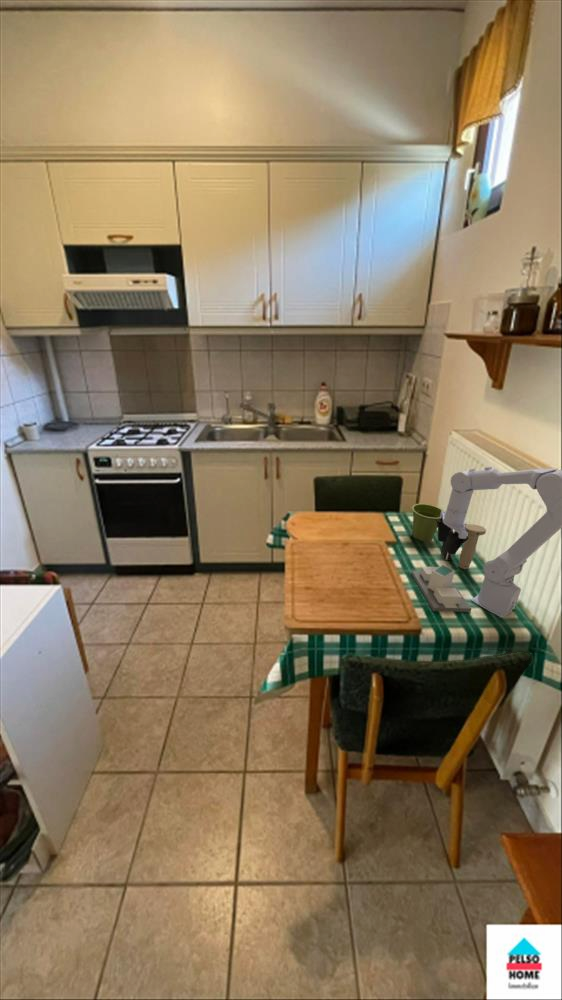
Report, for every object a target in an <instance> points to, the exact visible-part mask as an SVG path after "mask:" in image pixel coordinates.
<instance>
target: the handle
mask: <svg viewBox="0 0 562 1000" xmlns="http://www.w3.org/2000/svg"><path fill="white" fill-rule="evenodd" d="M464 526H465V530H466V532H467V536H468V540H467V541H465V542H464V543H463V545H462V548H461V551H460V555H459V559H458V560H459V561H458V567H459V568H460V569H463V570H468V569H469V568H470V566H471V563H472V561H473V559H474V557H475V554H476V553H475V552H476V549H477V545H478V540H479V537H480V536H483V535H486V532H487V529H486V528H485V527H484V526H482V525H479V524H478V525H477V524H473V523H472V524H471V523H470V524H468V523H467V525H464Z"/></svg>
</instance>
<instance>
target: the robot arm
mask: <svg viewBox="0 0 562 1000" xmlns="http://www.w3.org/2000/svg"><path fill="white" fill-rule="evenodd" d="M526 484H527V485H528V486H529V487H530V488H531V489H532V490H537V493H538V495H539V496H540V498H541V500H542V502H543V503H544V505H545V507H546V512H545V513H544V514H543V515H541V517H540V518H539V519H538V520H537V521H536V522H535V523H534V524H533V525H532V526H531V527H530V528H529V529H527V531H526V532H524V533H523V534H522V535H521V536H520V537H519V538H518V539H517V540H516V541H515V542H514V543H513V544H512V545H511V546H510V547H509V548H508V549H507V550H505V551H504V552H502V553H500V554H499V555H497V557H496V558H494V559H492V560H488V561H487V562H485V563H484V565H483V575H484V577H483V581H482V584H481V586H480V590H479V592H478V594H477V595H476V596H475V597H473V598H472V599H471V602H473V603H474V604H476V605H478V606H480V607H482V608H483V609H485V610H487V611H488V612H491V614H494V615H495V616H498V617H499V618H501V619H504V618H505V617H507V616H508V615H509V614H510V613H511V612H513V611H514V610H516V609H515V607H516V604H517V602H518V600H519V596H520V594H521V587H519V586H518V585H516V584H515V582H514V581H515V577H516V576H517V575H519V574H520V573H521V572H522V570H523V567H524V565H525V564H526V563H527V562H528V561H527V560H528V559H529V558H530V557H531V556H532V555H533V554H534V553H535V552H536V551H538V550H539V549H540V548H541V547H542V546H543V545H545V543H547V541H549V540H550V539H551V538H552V537H553V536H554V535H555V534H557V533H558V532H559V531H560V530H561V529H562V469H560V470H559V468H554V467H553V468H551V467H550V468H533V469H524V470H515V471H508V472H507V471H506V472H505V471H504V472H501V471H500V470H499V469H498V468H493V467H492V466H487V467H484V469H476V470H475V468H470V469H469V470H464V471H459V472H456V473H454V474H453V475H452V476H451V477H450V486H451V488H452V489H451V493H450V496H449V500H448V503H447V507H446V511H445V510H443V511H441V513H440V517H441V519H436V523H437V541H438V542H442V543H443V542H445V541H446V539H447V536H449V547H448V554H452V555H456V553H457V552H458V550H459V548H461V546H463V545H464V543H465V541H467V540H468V536H467V534H468V533H467V532H466V530H465V525H467V524H468V522H466V517H467V513H468V510H469V507H470V504H471V499H472V496H473V494H474V491H481V490H483V491H484V490H487V491H488V490H498V489H499V488H500V487H501V486H502V485H526ZM451 529H453V530H454V531H455V533H449V531H450V530H451ZM513 609H514V610H513ZM512 610H513V611H512Z"/></svg>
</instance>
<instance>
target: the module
mask: <svg viewBox="0 0 562 1000" xmlns="http://www.w3.org/2000/svg"><path fill="white" fill-rule="evenodd" d="M437 567H438V568H436V569H434V570H433V571H432V573H431V577H430V581H429V584H428V588H429V589H431V590H433V591H434V592H435V588H450V586H451V583H452V582H453V579H454V578H455V577H454V575H455V572H456V570H454V569H452V568H451V567H448V566H447V565H445V564H441V565H440V566H437Z"/></svg>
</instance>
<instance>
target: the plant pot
mask: <svg viewBox="0 0 562 1000" xmlns="http://www.w3.org/2000/svg"><path fill="white" fill-rule="evenodd" d="M411 510H412V516H413V517H412V537H413V538H414V539H416V540H419V542H420V541H421V542H431V540H433V537H434V535H435V534H436V531H438V527H437V523H436V519H441V517H440V513H441V511H444V510H443V509H442V508H440V507H438V506H435V505H432V504H428V503H416V504H414V505H412V507H411Z"/></svg>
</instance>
